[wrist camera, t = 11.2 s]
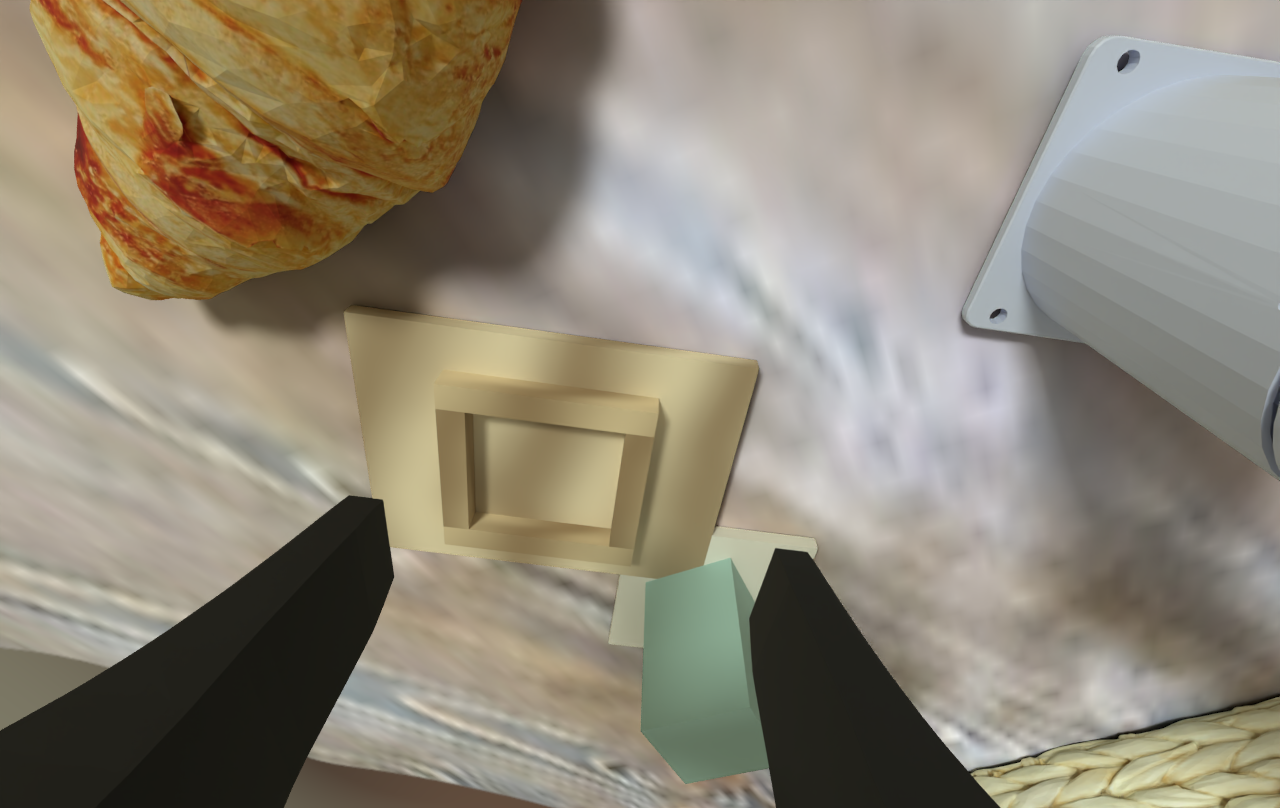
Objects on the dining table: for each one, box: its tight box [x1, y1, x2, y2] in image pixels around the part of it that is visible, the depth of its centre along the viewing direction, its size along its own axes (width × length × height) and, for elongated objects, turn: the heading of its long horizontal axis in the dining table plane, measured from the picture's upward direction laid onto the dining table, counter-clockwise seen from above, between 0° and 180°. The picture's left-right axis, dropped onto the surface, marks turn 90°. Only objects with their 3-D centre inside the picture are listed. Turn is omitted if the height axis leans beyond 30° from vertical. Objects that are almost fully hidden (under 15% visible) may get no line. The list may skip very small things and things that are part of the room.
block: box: [641, 558, 769, 784], centre depth 23 cm, size 4×4×6 cm
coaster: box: [608, 526, 818, 648], centre depth 26 cm, size 8×8×1 cm
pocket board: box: [343, 305, 759, 579], centre depth 22 cm, size 14×11×2 cm
